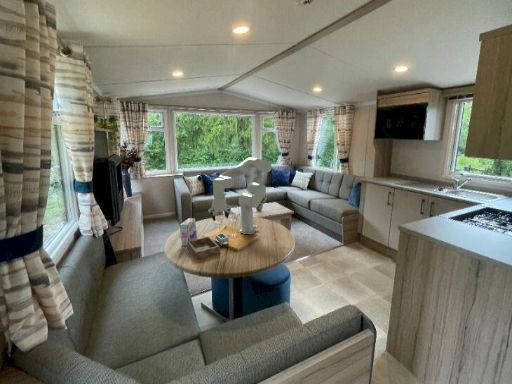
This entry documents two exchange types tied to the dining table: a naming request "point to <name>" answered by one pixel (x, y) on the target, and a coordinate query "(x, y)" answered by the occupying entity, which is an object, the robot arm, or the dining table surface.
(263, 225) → the dining table surface
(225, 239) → the small crate
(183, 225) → the candy box
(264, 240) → the dining table surface
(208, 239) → the big crate
